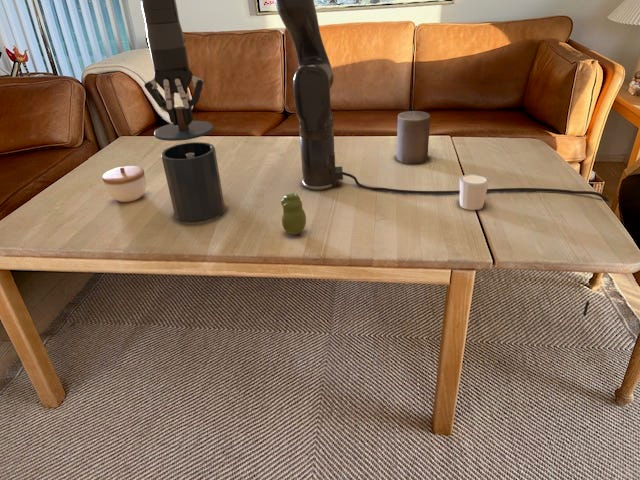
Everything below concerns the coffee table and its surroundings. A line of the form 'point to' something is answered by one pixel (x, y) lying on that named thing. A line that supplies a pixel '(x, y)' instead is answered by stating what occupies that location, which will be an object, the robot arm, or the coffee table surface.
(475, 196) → the white cylinder
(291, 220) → the green figurine
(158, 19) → the robot arm
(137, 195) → the trinket box
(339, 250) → the coffee table surface
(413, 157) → the pillar candle
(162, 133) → the lid
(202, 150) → the canister
